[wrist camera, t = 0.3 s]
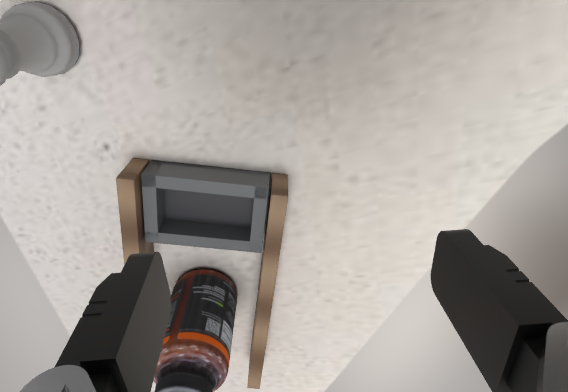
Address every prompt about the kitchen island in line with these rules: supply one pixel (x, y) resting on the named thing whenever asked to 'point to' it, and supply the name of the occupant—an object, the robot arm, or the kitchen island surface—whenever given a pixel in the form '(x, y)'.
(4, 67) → the rook chess piece
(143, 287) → the robot arm
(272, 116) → the kitchen island surface
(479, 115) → the kitchen island surface
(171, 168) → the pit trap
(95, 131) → the kitchen island surface
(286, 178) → the walnut channel
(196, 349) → the supplement bottle
